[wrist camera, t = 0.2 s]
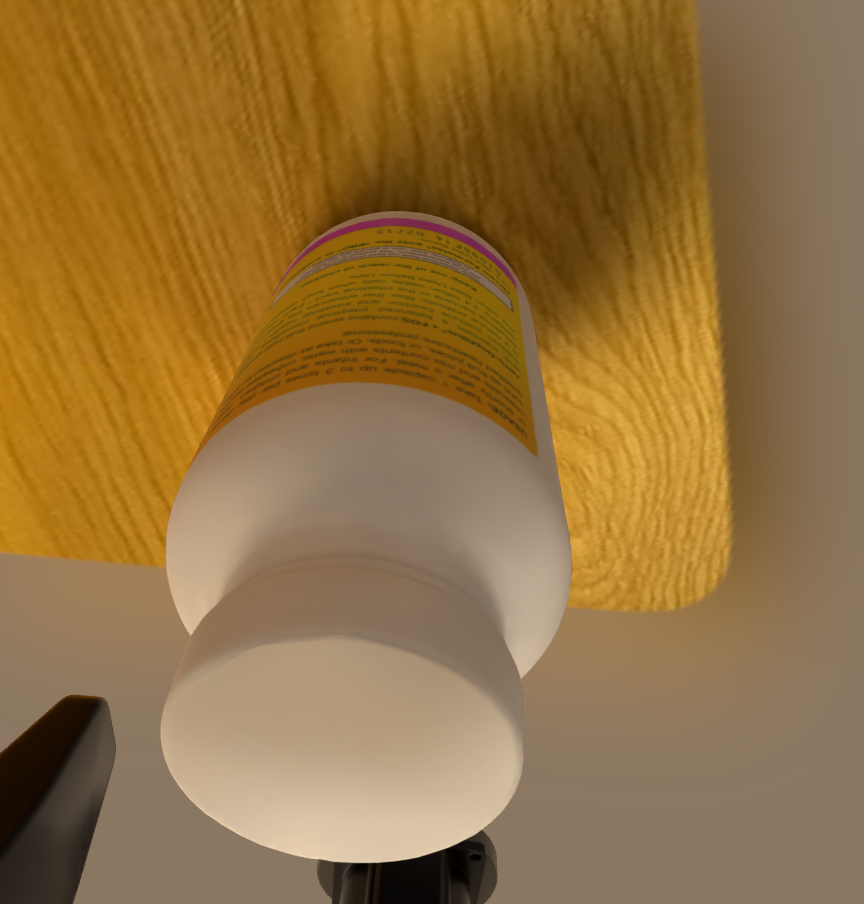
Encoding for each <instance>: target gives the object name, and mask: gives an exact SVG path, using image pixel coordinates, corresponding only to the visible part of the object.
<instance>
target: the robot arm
mask: <svg viewBox="0 0 864 904" xmlns="http://www.w3.org/2000/svg"><path fill="white" fill-rule="evenodd" d="M115 753H116V744H115V738H114V732H113V727H112V721H111V717H110V711H109V706H108V703H107V701H106V700H105V699H104V698H102V697H96V696H85V695H69V696H67V697H65V698H63V699H62V700H60V701H59V702H58V703H57V704H56V705H54V707H52V708H51V709H50V710H49V711H48V712H47V713H46V714H44V715H43V716H42V717H41V718H40V719H39V720H37V721H36V722H35V723H34V724H33V725H32V726H31V727H29V728H28V729H27V730H26V731H25V732H24V733H23V734H22V735H21V736H19V737H18V738H17V739H16V740H15V741H14V742H13V743H11V744H10V745H9V746H8V747H7V748H6V749H4V750H3V751H2V752H1V753H0V904H73V902H74V899H75V896H76V892H77V889H78V886H79V883H80V879H81V876H82V872H83V869H84V865H85V862H86V858H87V855H88V852H89V848H90V844H91V841H92V838H93V834H94V831H95V827H96V824H97V820H98V817H99V814H100V810H101V807H102V803H103V800H104V796H105V793H106V789H107V786H108V782H109V779H110V775H111V772H112V768H113V765H114V759H115ZM486 860H487V848H486V846H485V845H484V844H483V843H480V842H473V841H461V842H459V843H457V844H455V845H453V846H451V847H448V848H446V849H442V850H439V851H436V852H433V853H430V854H427V855H423V856H420V857H417V858H411V859H406V860H400V861H390V862H379V863H350V862H334V871H333V894H332V904H477V901H478V896H479V892H480V887H481V883H482V878H483V874H484V869H485V865H486Z"/></svg>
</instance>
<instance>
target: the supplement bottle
mask: <svg viewBox="0 0 864 904" xmlns="http://www.w3.org/2000/svg"><path fill="white" fill-rule="evenodd" d="M165 556H166V569H167V576H168V581H169V585H170V589H171V594H172V597H173V600H174V603H175V605H176V608H177V611H178V614H179V616H180V617H181V619H182V621H183V623H184V625H185V627H186V629H187V631H188V632H189V634H190V636H191V637H190V639H189V641H188V644H187V646H186V648H185V651H184V653H183V655H182V658H181V661H180V663H179V666H178V669H177V672H176V675H175V677H174V680H173V683H172V686H171V688H170V691H169V694H168V697H167V700H166V702H165V705H164V709H163V714H162V721H161V730H160V734H161V744H162V749H163V754H164V757H165V760H166V763H167V765H168V768H169V770H170V772H171V774H172V775H173V777H174V779H175V780H176V782H177V783H178V785H179V787H180V788H181V789H182V790H183V791H184V793H185V794H186V795H187V796H188V798H189V799H190V800H191V801H192V802H193V803H194V804H195V805H197V806H198V807H199V808H200V809H201V810H202V811H203V812H204V813H206V814H207V815H208V816H210V817H212V818H213V819H215V820H216V821H217V822H219V823H220V824H222V825H223V826H225V827H227V828H228V829H230V830H232V831H234V832H236V833H237V834H239V835H241V836H243V837H245V838H247V839H250V840H252V841H254V842H256V843H258V844H260V845H263V846H266V847H269V848H272V849H276V850H279V851H282V852H286V853H289V854H293V855H297V856H301V857H306V858H312V859H322V860H328V861H333V862H350V863H379V862H390V861H400V860H406V859H411V858H417V857H420V856H423V855H427V854H430V853H433V852H436V851H439V850H442V849H446V848H448V847H451V846H453V845H455V844H457V843H459V842H461V841H463V840H465V839H467V838H469V837H471V836H473V835H475V834H477V833H478V832H479V831H481V830H482V829H483V828H484V827H486V826H487V825H488V824H489V823H490V822H492V821H493V820H494V819H495V818H496V817H497V816H498V815H499V814H500V813H501V812H502V811H503V809H504V808H505V807H506V806H507V804H508V802H509V801H510V799H511V797H512V796H513V794H514V793H515V791H516V788H517V786H518V783H519V780H520V777H521V772H522V766H523V757H524V742H523V692H522V685H521V678H522V677H523V676H524V675H525V674H526V673H527V672H529V670H530V669H531V668H532V667H533V666H534V664H535V663H536V662H537V661H538V660H539V658H540V657H541V656H542V655H543V653H544V652H545V650H546V649H547V647H548V646H549V644H550V642H551V640H552V639H553V636H554V635H555V633H556V631H557V629H558V627H559V624H560V622H561V620H562V617H563V614H564V611H565V608H566V605H567V601H568V597H569V591H570V583H571V572H572V559H571V545H570V539H569V532H568V526H567V521H566V515H565V509H564V504H563V498H562V493H561V487H560V482H559V476H558V470H557V464H556V458H555V452H554V445H553V439H552V433H551V427H550V421H549V415H548V409H547V403H546V397H545V391H544V385H543V380H542V374H541V368H540V362H539V356H538V349H537V341H536V336H535V330H534V324H533V319H532V314H531V310H530V305H529V302H528V300H527V297H526V294H525V292H524V290H523V287H522V285H521V283H520V281H519V280H518V278H517V277H516V275H515V273H514V272H513V270H512V269H511V267H510V266H509V265H508V263H507V262H506V261H505V260H504V259H503V257H502V256H501V255H500V254H499V253H498V252H497V251H496V250H495V249H494V248H493V247H492V246H490V245H489V244H488V243H487V242H486V241H485V240H483V239H482V238H480V237H479V236H478V235H476V234H475V233H473V232H471V231H470V230H468V229H466V228H464V227H463V226H461V225H458V224H456V223H454V222H451V221H449V220H446V219H443V218H440V217H437V216H433V215H429V214H424V213H417V212H409V211H387V212H376V213H372V214H367V215H363V216H360V217H357V218H354V219H351V220H348V221H346V222H343V223H341V224H339V225H336V226H335V227H333V228H331V229H329V230H328V231H326V232H325V233H323V234H322V235H320V236H319V237H317V238H316V239H315V240H313V241H312V242H311V243H310V244H309V245H308V246H307V247H305V248H304V249H303V250H302V252H301V253H300V254H299V255H298V256H297V257H296V258H295V259H294V261H293V262H292V263H291V264H290V266H289V267H288V269H287V271H286V272H285V274H284V276H283V278H282V279H281V281H280V283H279V285H278V287H277V288H276V290H275V292H274V294H273V296H272V298H271V301H270V303H269V305H268V307H267V309H266V311H265V313H264V315H263V317H262V319H261V322H260V324H259V326H258V328H257V330H256V332H255V334H254V336H253V338H252V340H251V343H250V345H249V347H248V349H247V351H246V353H245V355H244V357H243V359H242V361H241V363H240V365H239V367H238V369H237V371H236V374H235V376H234V378H233V380H232V382H231V384H230V386H229V388H228V390H227V392H226V394H225V396H224V398H223V400H222V402H221V404H220V406H219V408H218V410H217V412H216V414H215V416H214V418H213V421H212V423H211V425H210V426H209V428H208V430H207V432H206V434H205V436H204V438H203V440H202V442H201V444H200V446H199V448H198V450H197V452H196V454H195V456H194V458H193V460H192V462H191V464H190V466H189V468H188V471H187V473H186V475H185V477H184V480H183V482H182V484H181V486H180V489H179V491H178V493H177V496H176V498H175V501H174V504H173V507H172V509H171V513H170V518H169V522H168V527H167V535H166V553H165Z"/></svg>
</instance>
